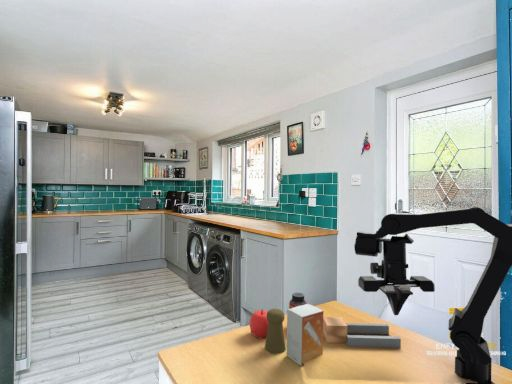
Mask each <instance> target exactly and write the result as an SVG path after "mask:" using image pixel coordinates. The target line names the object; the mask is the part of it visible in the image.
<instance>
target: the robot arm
mask: <svg viewBox="0 0 512 384" xmlns="http://www.w3.org/2000/svg"><path fill="white" fill-rule="evenodd" d="M468 224H474V225H476V226H477V227H479V228H480V229H482V230H484V231H485V232H487V233H488V234H490V235H491V236H493V237H494V238H493V242H492V247H491V253H490V258H489V260H488V261H487V263H486V265H485V268H484V269H483V272H482V274H481V276H480V278H479V280H478V281H477V284H476V286H475V288H474V290H473V291H472V294H471V295H470V298H469V299H468V302H467V304H466V306H465V307H464V308H463V309H461V310H460V309H459V308H457V307H454V310H453V314H452V316H451V317H450V318H449V319H448V331H449V338H450V340H451V343H452V344H453V345H454V346H455V347H456V348H457V349H456V356H455V357H454V372H455V374H456V375H457V376H459V377H460V379H464V380H470V381H471V382H465V384H496V383H494V382H493V381H492V361H493V360H492V359H493V358H492V357H491V353H490V349H489V343H488V342H487V340H486V339H485V338H484V337H483V336H482V335H483V327H484V320H485V318H486V316H487V314H488V311H489V310H490V308H491V306H492V304H493V303H494V300H495V299H496V297H497V294H498V292H499V291H500V288H501V287H502V285H503V282H504V281H505V278H506V277H507V275H508V273H509V271H510V269H511V267H512V223H508V224H507V223H504V221H501V220H500V219H498V218H496V217H495V216H493V215H491V214H489V213H487V212H486V211H485V210H484V209H483V208H481V207H479V206H470V207H468V208H459V209H450V210H442V211H432V212H425V213H406V212H405V213H404V212H392V213H389V214H386V215H384V217H383V218H382V219H381V223H380V227H379V228H378V229H377V230H376V231H375V233H374V232H365V231H358V232H356V237H355V242H354V245H353V246H354V247H353V248H354V253H355V255H357V256H363V257H364V256H365V257H366V256H367V257H378V256H379V254H380V255H381V254H382V253H383V256H382V257H383V259H382V260H381V265H380V264H379V263H378V262H370V266H369V267H370V274H371V275H376V277H377V278H381V279H377V278H375V277H374V276H371V275H369V276H368V275H366V276H364V275H360V276H359V278H358V280H357V282H358V287H359V288H360V289H361V290H362V291H363V292H365V293H366V292H367V293H377V292H378V291H380V292H382V293H383V294H385V296H386V298H387V300H388V302H389V306H390V308H391V312H392V314H393V315H394V316H399V314H400V312H401V310H402V308H403V306H404V305H405V303H406V302H407V299H409V297H410V296H413V295H414V292H413V291H411V288H419V289H420V291H422V292H424V293H434V292H436V291H435V289H436V288H435V283H434V282H433V280H431V279H429V278H427V277H426V276H423V275H418V276H417V275H414V276H413V275H411V276H410V277H409V279H408V278H407V269H409V263H407V250H406V249H407V247H406V246H407V245H412V244H413V243H414V242H415V241H414V239H413V238H411V237H410V235H409V234H408V232H411V231H415V230H418V229H425V228H434V227H437V228H438V227H446V226H455V225H456V226H458V225H468ZM404 233H405V234H404ZM399 234H404V235H403V236H398V235H399ZM388 235H389V236H391V237H390V238H385V237H386V236H388ZM406 244H407V245H406Z"/></svg>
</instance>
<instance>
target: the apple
mask: <svg viewBox="0 0 512 384" xmlns="http://www.w3.org/2000/svg"><path fill="white" fill-rule="evenodd" d="M268 311H269V310H263V309H260V310H256V311H254V312H253V314H252V315H251V316H250V319H249V323H248V324H249V329H250V333H251V334H252V335H253V336H255V337H256V338H260V339H264V338H265V339H266V336H267V328H268V321H267V312H268Z"/></svg>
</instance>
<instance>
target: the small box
mask: <svg viewBox="0 0 512 384" xmlns="http://www.w3.org/2000/svg"><path fill="white" fill-rule="evenodd" d="M286 314H287V315H286V357H288V358H289V359H291V360H292V361H294V363H296V364H297V365H299V366H300V367H304V365H305V364H304V363H305V362H307V361H309V360H312V359H314V358H317V357H319V356H321V355H323V354H324V352H323V351H324V350H323V349H324V334H323V317H324V310H322V309H321V308H319V307H316V306H314V305H312V304H310V303H307V304H305V305H301V306H297V307H294V308H291V309H289V308H287V310H286Z"/></svg>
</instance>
